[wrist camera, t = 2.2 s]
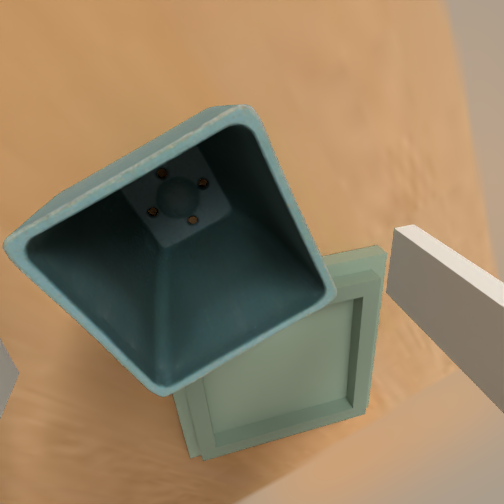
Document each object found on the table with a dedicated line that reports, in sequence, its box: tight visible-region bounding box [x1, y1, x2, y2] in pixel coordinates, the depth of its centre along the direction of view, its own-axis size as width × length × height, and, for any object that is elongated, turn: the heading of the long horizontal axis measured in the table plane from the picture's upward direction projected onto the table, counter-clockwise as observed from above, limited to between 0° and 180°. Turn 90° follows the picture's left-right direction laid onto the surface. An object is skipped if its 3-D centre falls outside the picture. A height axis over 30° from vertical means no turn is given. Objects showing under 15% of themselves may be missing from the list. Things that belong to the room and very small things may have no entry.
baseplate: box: [173, 245, 387, 461], centre depth 27 cm, size 16×16×2 cm
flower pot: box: [3, 104, 337, 397], centre depth 17 cm, size 9×9×9 cm
